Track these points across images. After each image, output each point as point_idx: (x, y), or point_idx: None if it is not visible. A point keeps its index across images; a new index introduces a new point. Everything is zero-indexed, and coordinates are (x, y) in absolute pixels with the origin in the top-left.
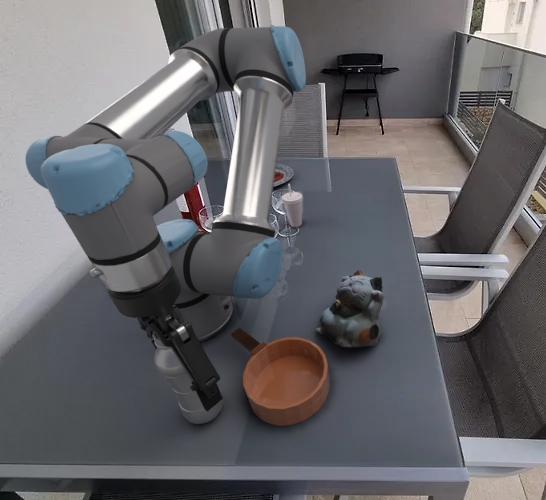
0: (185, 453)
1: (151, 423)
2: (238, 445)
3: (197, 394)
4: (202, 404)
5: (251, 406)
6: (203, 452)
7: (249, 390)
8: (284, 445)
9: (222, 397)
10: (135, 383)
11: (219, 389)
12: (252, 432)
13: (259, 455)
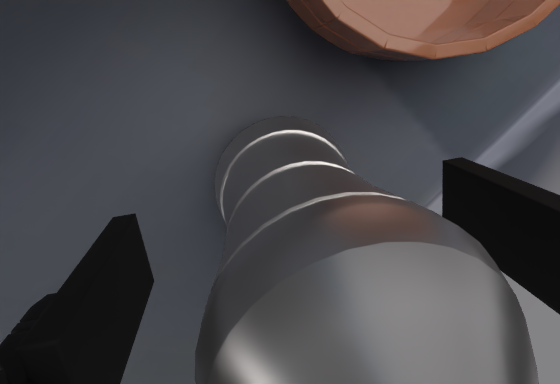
0: None
1: (204, 293)
2: (430, 143)
3: (513, 276)
4: None
5: (397, 60)
6: None
7: (420, 41)
8: (527, 47)
9: (466, 159)
10: (23, 301)
11: (296, 121)
12: (431, 96)
13: (493, 113)
